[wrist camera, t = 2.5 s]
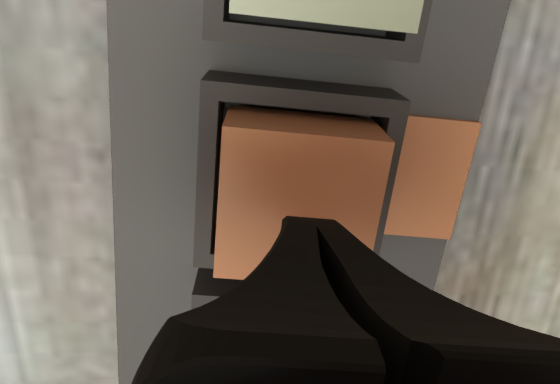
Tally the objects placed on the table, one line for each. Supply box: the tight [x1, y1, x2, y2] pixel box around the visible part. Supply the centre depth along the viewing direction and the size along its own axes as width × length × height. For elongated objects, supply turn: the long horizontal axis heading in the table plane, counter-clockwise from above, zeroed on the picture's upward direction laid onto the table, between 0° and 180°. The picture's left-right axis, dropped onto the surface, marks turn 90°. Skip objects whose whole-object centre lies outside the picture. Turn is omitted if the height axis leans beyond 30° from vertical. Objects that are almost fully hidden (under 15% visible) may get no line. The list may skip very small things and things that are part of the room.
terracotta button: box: [213, 105, 395, 280], centre depth 16 cm, size 5×5×3 cm
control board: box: [107, 0, 511, 384], centre depth 18 cm, size 14×27×4 cm, turn 174°
